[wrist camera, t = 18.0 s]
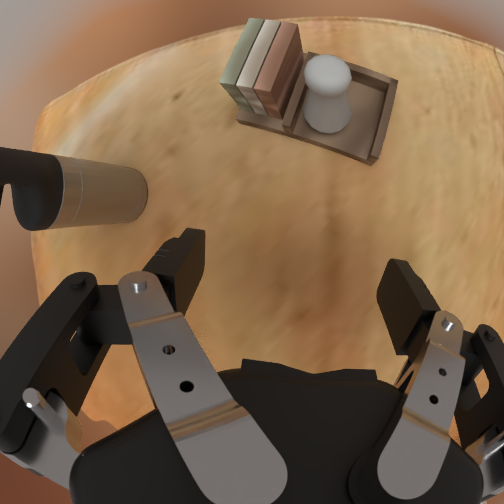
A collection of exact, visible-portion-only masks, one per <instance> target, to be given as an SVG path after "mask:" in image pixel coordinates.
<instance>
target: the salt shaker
mask: <svg viewBox="0 0 504 504" xmlns="http://www.w3.org/2000/svg"><path fill="white" fill-rule="evenodd" d="M304 77H305V82H306V85H307V86H308V87H309V92H308V95H307V98H306V101H305V104H304V107H303V110H304V116H305V119H306V120H307V122H308V123H309V124H310V126H311V127H312V128H314V129H316V130H318V131H319V132H323V133H334V132H338V131H341V130H342V129H343V128H344V127H345V126H346V125H347V124H348V122H349V120H350V117H351V111H350V106H349V102H348V98H347V94H346V91H347V90H348V88H349V86H350V82H351V79H352V77H351V73H350V69H349V66H348V65H347V64H346V63H345V62H344V61H343V60H342V59H340V58H338V57H336V56H334V55H326V54H322V55H319V56H315V57H313V58H312V59H311V60H309V61H308V62H307V64H306V67H305V69H304Z"/></svg>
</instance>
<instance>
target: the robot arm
mask: <svg viewBox="0 0 504 504" xmlns="http://www.w3.org/2000/svg"><path fill="white" fill-rule="evenodd" d="M5 184H10V185H11V189H12V198H13V205H14V211H15V215H16V217H17V219H18V221H19V223H20V225H21V226H22V227H23V228H25V229H27V230H30V231H38V230H47V229H57V228H66V227H77V226H89V225H102V224H116V223H128V222H131V221H134V220H135V219H136V218H138V216H139V215H140V214H141V213H142V211H143V209H144V207H145V204H146V200H147V185H146V182H145V179H144V178H143V176H142V175H141V173H140V172H138V171H137V170H135V169H132V168H127V167H122V166H117V165H112V164H107V163H101V162H96V161H90V160H84V159H78V158H72V157H64V156H58V155H51V154H44V153H37V152H31V151H24V150H17V149H10V148H4V147H0V205H1V199H2V193H3V188H4V185H5ZM204 265H205V231H204V230H200V229H193V228H186V229H185V231H184V232H183V233H182V235H181V236H180V237H179V238H174V237H173V238H171V239H170V240H168V241H166V242H164V243H163V245H162V246H161V247H160V248H159V250H158V251H157V252H156V253H155V256H153V257H152V258H151V259H150V261H149V262H148V263H147V265H146V266H145V267H144V268H143V270H142V271H136V272H131V273H129V274H127V275H125V276H123V277H122V278H121V279H120V280H119V282H118V285H98V284H97V280H96V277H95V276H94V275H93V274H92V273H89V272H77V273H74V274H71V275H69V276H67V277H66V278H65V279H64V280H63V281H62V282H61V283H60V284H59V285H58V286H57V288H56V289H55V290H54V291H53V292H52V293H51V294H50V296H49V297H48V298H47V299H46V300H45V301H44V303H43V304H42V305H41V306H40V308H39V309H38V310H37V311H36V312H35V314H34V315H33V316H32V317H31V319H30V320H29V321H28V323H27V324H26V325H25V326H24V328H23V329H22V330H21V332H20V333H19V334H18V336H17V337H16V339H15V340H14V341H13V343H12V344H11V345H10V347H9V348H8V349H7V351H6V352H5V354H4V355H3V357H2V358H1V360H0V452H1V453H2V454H4V455H5V456H7V457H8V458H10V459H11V460H12V461H14V462H15V463H17V464H19V465H20V466H22V467H24V468H27V469H28V470H30V471H31V472H33V473H35V474H37V475H39V476H45V477H47V478H49V479H50V480H52V481H54V482H56V483H58V484H60V485H61V486H63V487H65V488H67V489H69V490H70V494H71V499H72V503H73V504H480V503H481V502H483V501H485V500H487V499H489V498H491V497H493V496H495V495H497V494H498V493H500V492H502V491H504V343H503V342H502V340H501V338H500V336H499V335H498V333H497V332H496V331H495V330H494V329H493V328H492V327H490V326H488V325H485V324H481V325H479V326H478V328H477V329H476V331H475V332H474V333H471V332H468V331H465V330H463V325H462V323H461V321H460V320H459V319H458V318H457V317H456V316H455V315H453V314H452V313H450V312H447V311H441V309H440V308H439V306H438V304H437V303H436V301H435V299H434V298H433V296H432V294H430V291H429V290H428V288H427V286H426V285H425V283H424V282H423V280H422V279H421V278H420V277H419V276H417V275H416V274H415V272H414V271H413V269H412V268H411V266H410V265H409V263H408V262H407V261H405V260H399V259H393V258H392V259H390V260H389V261H388V263H387V266H386V268H385V271H384V274H383V276H382V279H381V281H380V284H379V286H378V289H377V302H378V305H379V307H380V310H381V313H382V315H383V318H384V321H385V323H386V326H387V329H388V332H389V335H390V337H391V340H392V343H393V346H394V349H395V352H396V355H408V359H407V360H406V362H405V363H404V365H403V367H402V369H401V371H400V373H399V375H398V377H397V379H396V381H395V383H394V385H391V384H389V383H386V382H384V381H381V380H378V379H377V375H376V371H375V370H367V369H342V370H336V371H330V372H324V373H318V374H311V373H308V372H304V371H301V370H297V369H294V368H291V367H288V366H285V365H282V364H278V363H272V362H264V361H256V360H249V359H242V365H241V368H239V369H229V370H224V371H220V372H216V371H215V369H214V367H213V366H212V364H211V363H210V361H209V359H208V358H207V356H206V354H205V353H204V351H203V349H202V347H201V346H200V344H199V342H198V341H197V339H196V337H195V335H194V334H193V332H192V330H191V328H190V326H189V325H188V323H187V321H186V319H185V317H184V316H185V314H186V311H187V309H188V307H189V305H190V302H191V300H192V298H193V296H194V293H195V291H196V289H197V287H198V285H199V282H200V280H201V278H202V275H203V272H204ZM75 331H77V332H76V333H75ZM74 333H75V335H74V336H73V334H74ZM72 336H73V338H72ZM71 338H72V340H71ZM70 340H71V341H70ZM111 344H125V345H129V344H132V346H133V349H134V352H135V355H136V358H137V361H138V364H139V367H140V370H141V373H142V376H143V378H144V381H145V384H146V387H147V389H148V392H149V395H150V397H151V400H152V402H153V405H154V407H155V409H154V410H152V411H151V412H149V413H147V414H146V415H144V416H142V417H141V418H139V419H137V420H135V421H134V422H132V423H130V424H128V425H127V426H125V427H123V428H121V429H120V430H118V431H116V432H114V433H112V434H111V435H109V436H107V437H105V438H103V439H101V440H99V441H97V442H96V443H93V444H92V445H90V446H88V447H87V448H85V449H84V450H83V451H82V450H81V439H82V426H81V424H80V421H79V420H78V418H77V415H78V413H79V411H80V408H81V406H82V404H83V402H84V399H85V397H86V395H87V393H88V391H89V389H90V387H91V384H92V382H93V380H94V378H95V376H96V374H97V372H98V370H99V368H100V366H101V364H102V362H103V360H104V358H105V356H106V354H107V352H108V350H109V348H110V346H111ZM483 368H484V371H485V373H486V375H487V378H488V380H489V389H488V392H487V393H486V394H485V395H484V397H483V398H482V399H481V397H480V395H479V392H478V389H477V386H476V384H475V381H474V379H475V378H476V376H477V375H478V374H479V373H480V372H481V370H482V369H483ZM453 414H454V416H455V420H456V424H457V428H458V432H459V437H460V441H461V446H462V448H461V447H460V446H459V445H458V444H457V443H456V442H455V441H454V440H453V439H452V438H451V437H450V436H449V434H448V431H449V427H450V424H451V421H452V418H453Z"/></svg>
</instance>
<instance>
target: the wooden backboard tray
mask: <svg viewBox="0 0 504 504" xmlns="http://www.w3.org/2000/svg"><path fill="white" fill-rule="evenodd" d="M319 55H320V54H316V53H312V52H308V54H306V53H303V50H302V45H301V39H300V33H299V28H298V24H294V23H288V22H282V24H281V21H274V20H264V19H256V18H249V21H248V23H247V24H246V26H245V28H244V30H243V32H242V34H241V36H240V38H239V40H238V42H237V44H236V46H235V49H234V51H233V53H232V55H231V57H230V59H229V61H228V64H227V66H226V68H225V70H224V72H223V75H222V77H221V79H220V82H219V83H220V84H221V85H222V86H223V87H224V89H225V90H226V91H227V92H228V93H229V95H230V96H231V97H232V98H233V99H234V101H235V102H236V103H237V104H238V106H239V107H240V109H239V112H238V114H237V117H236V120H237V121H238V122H239V123H241V124H245V125H249V126H253V127H257V128H260V129H264V130H268V131H272V132H275V133H279V134H282V135H286V136H289V137H292V138H295V139H299V140H302V141H305V142H308V143H311V144H314V145H317V146H320V147H323V148H326V149H329V150H332V151H334V152H337V153H340V154H343V155H345V156H348V157H351V158H353V159H356V160H358V161H361V162H363V163H366V164H368V165H371V166H372V165H373V164H374V163H375V162H376V161H377V160H378V159H379V156H380V152H381V149H382V145H383V142H384V138H385V134H386V131H387V127H388V123H389V119H390V115H391V111H392V106H393V102H394V98H395V93H396V89H397V84H398V80H395V79H393V78H390V77H388V76H385V75H383V74H380V73H378V72H375V71H372V70H369V69H367V68H364V67H361V66H358V65H355V64H352V63H349V62H345V61H344V62H345V63H346V64H347V65H348V66H349V69H350V73H351V77H352V79H351V82H350V86H349V88H348V90H347V91H346V94H347V98H348V102H349V106H350V111H351V117H350V120H349V122H348V124H347V125H346V126H345V127H344V128H343V129H342V130H341V131H338V132H334V133H323V132H319V131H318V130H316V129H314V128H312V127H311V126H310V124H309V123H308V122H307V120H306V119H305V116H304V110H303V107H304V104H305V101H306V98H307V95H308V92H309V87H308V86H307V85H306V82H305V77H304V69H305V67H306V64H307V62H308V61H309V60H311V59H312V58H313V57H315V56H319Z"/></svg>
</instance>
